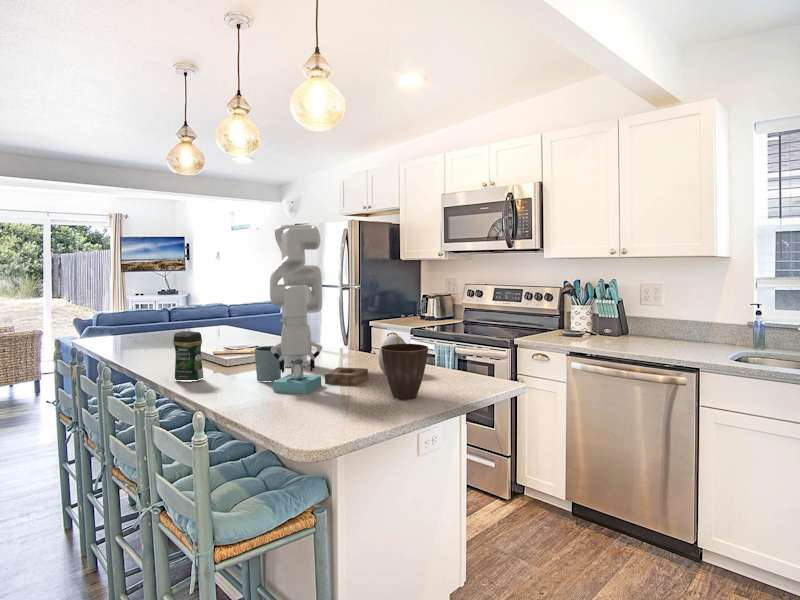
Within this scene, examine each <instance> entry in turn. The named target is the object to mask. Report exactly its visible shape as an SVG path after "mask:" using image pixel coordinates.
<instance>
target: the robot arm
mask: <svg viewBox="0 0 800 600" xmlns="http://www.w3.org/2000/svg"><path fill="white" fill-rule="evenodd" d="M274 238H275V241H276V243H277V246H278V248H279V250H280V253H281V262H280V263H279V264H278V265H277V266H275V268H274V269H273V270H272V272H271V275H270V278H269V299H270V302H271V304H272V305H274V306H280V308H281V315H282V318H280V320H279V322H280V324H282V329H281V333H280V334H281V335H280V338H281V339H280V343H277V344H275V345H273V346H274V347H272V348H271V351H272V353H273V355H274V356H275V357H276V358H277V359H278V360H279V364H280V370H281V374H282V373H285V368H291V360H293V359H303V367H306V366H305V365H308V366H309V367H310V368H309V370H310V372H313V371H314V370H313V369H315V367H316V366H315V359H316V358H317V357H318V356H319V355H320V353H321V351H322V349H323V345H320V344H318V343H316V342H314V341H312V333H311V327H310V324H308V314H314V313H315V314H317V313H319V312H321V311H322V308H323V286H322V285H323V282H322V280H323V279H322V276H323V275H322V271H321V268H320V267H319V266H318V265H313V264H312V265H311V264H306V254H305V252H306V250H315V251H316V250H318V249H319V248H320V246H321V234H320V230H319V228H318V227H317V226H316V225H313V224H283V225H278V226H276V227H275V229H274ZM281 279H283V280H282V281H283V284H282V283H281V284H280V283H279V281H280V280H281ZM280 347H281V353H282V354H281V356H280V355H279V354H278V353H277V352H276V349H278V348H280ZM312 348H316V351H315V352H314V353H313V351H312V350H313V349H312ZM308 357H309V358H310V359H308ZM309 364H310V365H309ZM284 366H285V367H284Z"/></svg>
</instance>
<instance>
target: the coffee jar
mask: <svg viewBox="0 0 800 600" xmlns="http://www.w3.org/2000/svg"><path fill="white" fill-rule="evenodd" d="M202 337H203V336H202V334H201V332H199V331H191V330H190V331H189V330H187V331H185V330H184V331H179V332H175V333H174V335H173V340H172V341H173V347H174V351H175V366H174V367H175V368H174V380H175V379H176V380H198V379H201V378H203V379H204V370H203V361H202V351H201V350H202V348H201V347H202V343H203V340H202V339H203V338H202Z"/></svg>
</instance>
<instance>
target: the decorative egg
mask: <svg viewBox="0 0 800 600" xmlns="http://www.w3.org/2000/svg"><path fill="white" fill-rule="evenodd" d="M391 344H407V342H406V341H405V340H404V339H403V338H402V337H401V336H400V335H398V334H391V335H388V336H387V337H386V338H385V339H384V340H383V342H382V344H381V346H380V348H379V352H378V364H379V367H380V370H381V371H382V372H383V374H385V375H386V372H385V368H384V363H383V357H382V351H381V347H382V346H385V345H391Z"/></svg>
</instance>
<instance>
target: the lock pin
mask: <svg viewBox="0 0 800 600" xmlns="http://www.w3.org/2000/svg"><path fill="white" fill-rule="evenodd" d="M290 368H291V369H290V370H291V374H292V380H295V381H302V380H304V376H303V375H304V366H303V359H293V360H291V367H290Z"/></svg>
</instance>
